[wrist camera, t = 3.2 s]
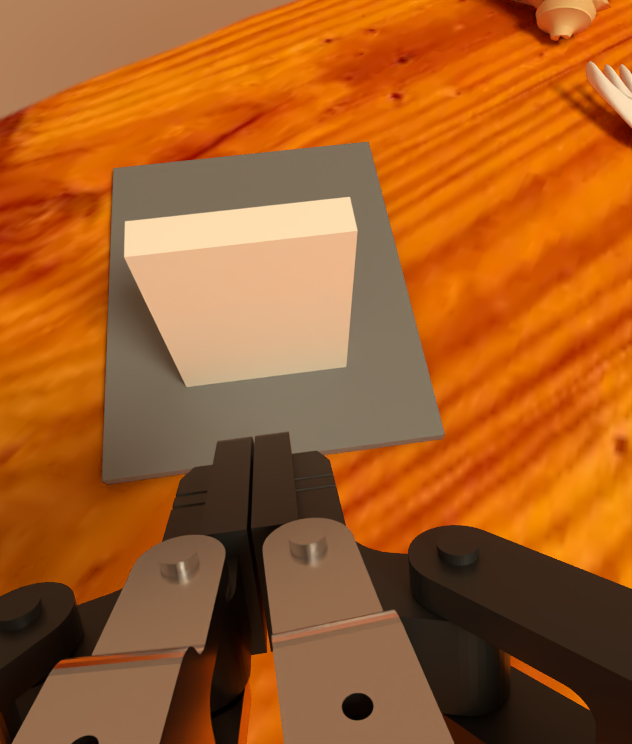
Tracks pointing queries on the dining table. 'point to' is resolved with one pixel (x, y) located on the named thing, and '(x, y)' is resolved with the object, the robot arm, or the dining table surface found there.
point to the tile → (249, 287)
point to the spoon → (613, 88)
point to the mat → (275, 393)
